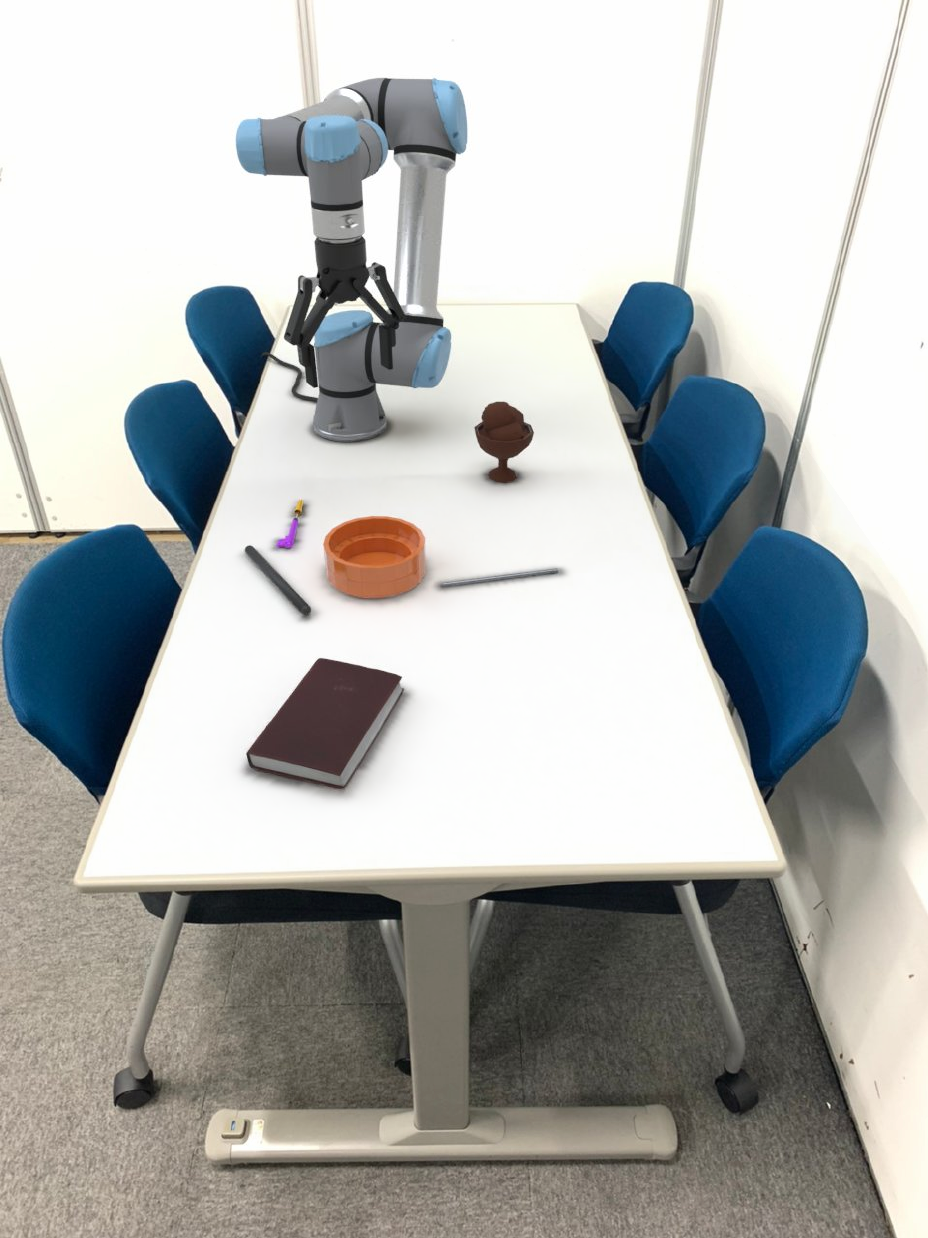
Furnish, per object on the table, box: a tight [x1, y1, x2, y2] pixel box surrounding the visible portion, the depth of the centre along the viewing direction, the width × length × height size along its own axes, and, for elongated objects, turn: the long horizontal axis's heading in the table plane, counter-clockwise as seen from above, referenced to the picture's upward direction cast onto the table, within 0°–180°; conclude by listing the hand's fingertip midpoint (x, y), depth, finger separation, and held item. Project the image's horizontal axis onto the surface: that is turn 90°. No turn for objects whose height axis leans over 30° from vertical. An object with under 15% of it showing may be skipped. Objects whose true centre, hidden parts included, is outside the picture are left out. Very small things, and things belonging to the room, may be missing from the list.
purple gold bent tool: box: [276, 499, 304, 549], centre depth 154 cm, size 3×1×16 cm
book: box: [245, 657, 405, 790], centre depth 112 cm, size 12×19×3 cm, turn 161°
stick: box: [244, 544, 312, 616], centre depth 139 cm, size 20×2×10 cm
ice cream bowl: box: [473, 400, 535, 484], centre depth 165 cm, size 11×11×15 cm
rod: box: [440, 568, 559, 588], centre depth 141 cm, size 1×19×1 cm, turn 103°
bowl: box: [323, 515, 427, 599], centre depth 140 cm, size 16×16×6 cm
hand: (350, 375), depth 144 cm, fingers open, 13 cm apart
